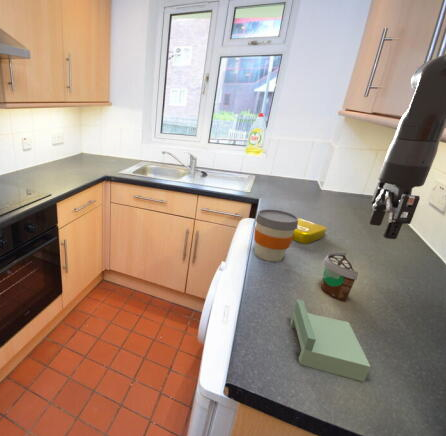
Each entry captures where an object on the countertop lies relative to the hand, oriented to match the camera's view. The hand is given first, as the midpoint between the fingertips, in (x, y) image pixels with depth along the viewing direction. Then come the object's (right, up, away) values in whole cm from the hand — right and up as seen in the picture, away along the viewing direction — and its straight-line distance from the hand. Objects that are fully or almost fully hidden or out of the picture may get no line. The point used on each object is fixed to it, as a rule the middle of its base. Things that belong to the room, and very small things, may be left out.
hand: (381, 231), depth 69 cm
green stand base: (-17, -26, -4) cm, 31 cm away
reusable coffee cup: (-9, -10, +35) cm, 38 cm away
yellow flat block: (+12, -4, +53) cm, 54 cm away
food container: (-1, -18, +17) cm, 24 cm away
